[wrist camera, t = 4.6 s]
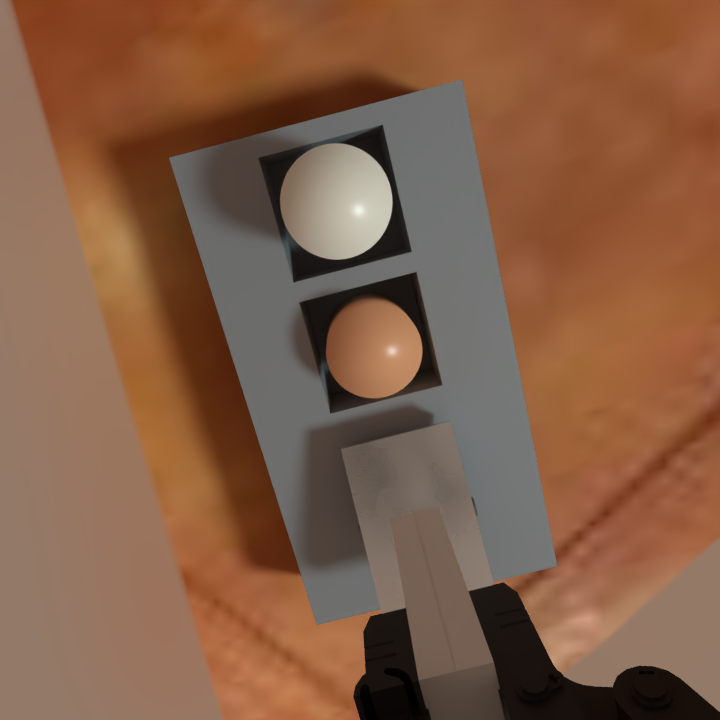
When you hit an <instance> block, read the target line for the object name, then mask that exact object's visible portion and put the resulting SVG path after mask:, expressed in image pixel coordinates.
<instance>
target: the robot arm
mask: <svg viewBox="0 0 720 720" xmlns="http://www.w3.org/2000/svg"><path fill="white" fill-rule="evenodd" d="M390 520H391V526H392V532H393V537H394V543H395V549H396V554H397V560H398V566H399V571H400V577H401V583H402V588H403V594H404V600H405V605H406V608H403V609H399V610H395V611H391V612H387V613H383V614H379V615H374V616H370V619H369V621H368V623H367V625H366V627H365V630H364V632H363V633H364V648H365V662H366V663H365V668H366V674H365V675H363V676H362V677H361V679H360V680H359V682H358V683H357V685H356V686H355V691H354V696H353V697H354V700H355V703H356V707H357V710H358V713H359V717H360V720H720V712H719V711H718V710H716V709H715V708H714V707H713V706H712V705H711V704H709V703H708V702H707V701H706V700H705V699H704V698H702V697H701V696H700V695H699V694H698V693H697V692H695V691H694V690H693V689H692V688H691V687H689V686H688V685H687V684H686V683H685V682H684V681H682V680H681V679H680V678H679V677H677V676H675V675H674V674H672V673H670V672H669V671H667V670H664V669H660V668H657V667H652V666H637V667H633V668H630V669H626V670H625V671H624V672H622V673H621V674H620V675H618V676H617V678H616V680H615V682H614V685H613V687H594V686H586V685H582V684H578V683H575V682H573V681H571V680H569V679H567V678H565V677H564V676H563V675H562V674H561V672H559V671H557V669H556V668H555V667H554V665H553V664H552V662H551V660H550V658H549V656H548V653H547V651H546V649H545V647H544V645H543V643H542V641H541V639H540V637H539V635H538V633H537V631H536V629H535V627H534V625H533V623H532V622H531V620H530V617H529V615H528V613H527V611H526V610H525V607H524V605H523V603H522V601H521V599H520V597H519V595H518V593H517V592H516V591H514V590H513V589H512V588H510V587H509V586H507V585H506V584H505V583H500V584H496V585H491V586H487V587H483V588H479V589H475V590H471V591H468V589H467V586H466V584H465V581H464V578H463V575H462V572H461V570H460V567H459V564H458V561H457V558H456V556H455V553H454V550H453V547H452V545H451V542H450V539H449V536H448V533H447V531H446V528H445V525H444V522H443V520H442V517H441V514H440V511H439V508H438V506H437V507H433V508H429V509H424V510H420V511H416V512H412V513H408V514H404V515H400V516H396V517H392V518H390Z"/></svg>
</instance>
